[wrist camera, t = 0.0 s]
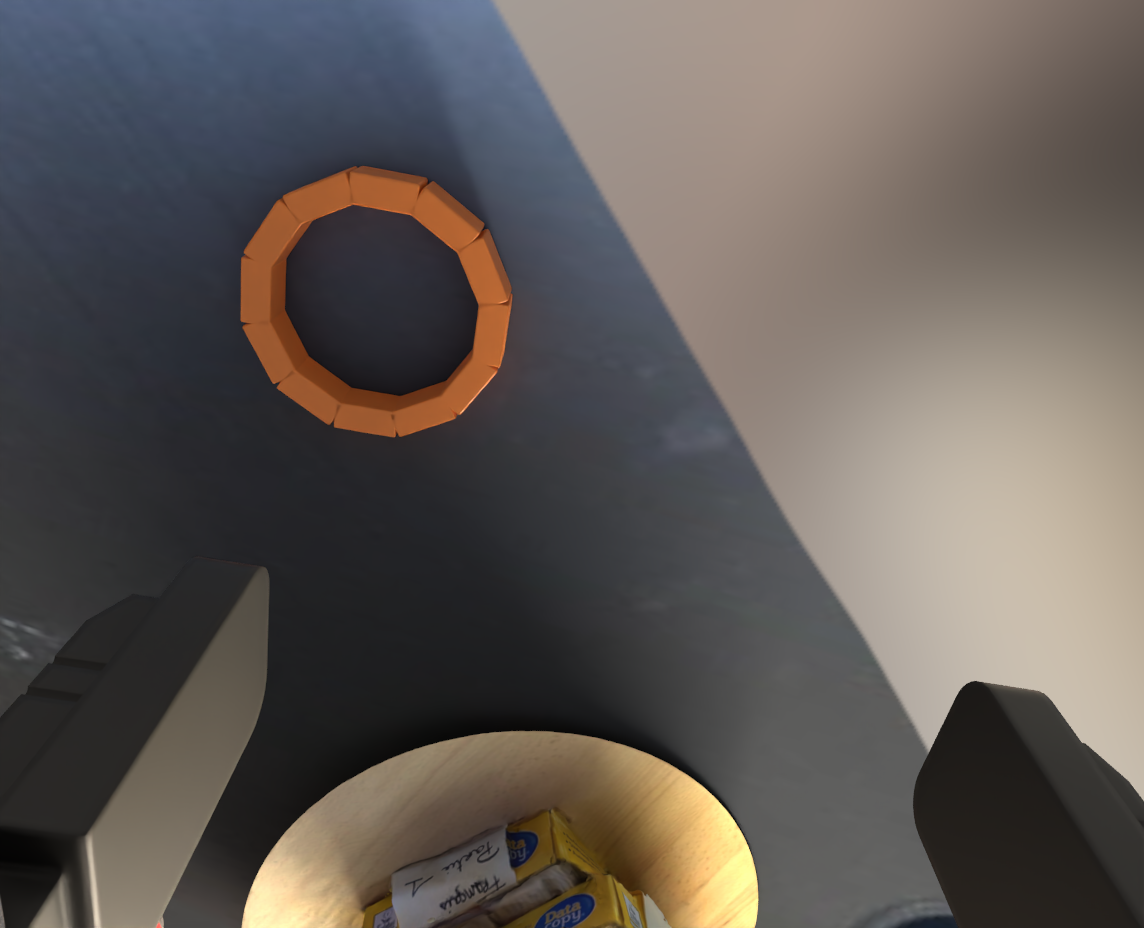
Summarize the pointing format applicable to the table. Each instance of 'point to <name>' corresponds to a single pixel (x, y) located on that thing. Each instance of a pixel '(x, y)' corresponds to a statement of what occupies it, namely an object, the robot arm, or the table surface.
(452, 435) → the table surface
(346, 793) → the plate with stacked boxes
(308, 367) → the ring
